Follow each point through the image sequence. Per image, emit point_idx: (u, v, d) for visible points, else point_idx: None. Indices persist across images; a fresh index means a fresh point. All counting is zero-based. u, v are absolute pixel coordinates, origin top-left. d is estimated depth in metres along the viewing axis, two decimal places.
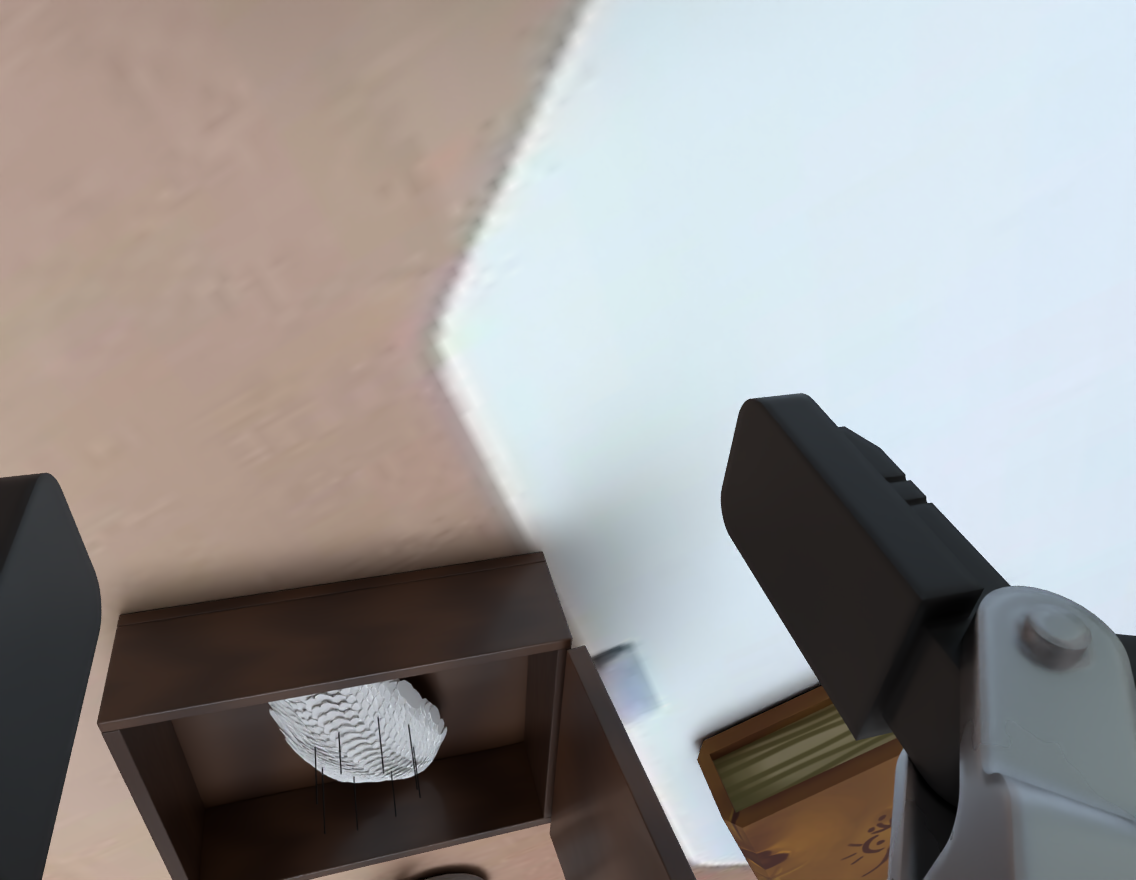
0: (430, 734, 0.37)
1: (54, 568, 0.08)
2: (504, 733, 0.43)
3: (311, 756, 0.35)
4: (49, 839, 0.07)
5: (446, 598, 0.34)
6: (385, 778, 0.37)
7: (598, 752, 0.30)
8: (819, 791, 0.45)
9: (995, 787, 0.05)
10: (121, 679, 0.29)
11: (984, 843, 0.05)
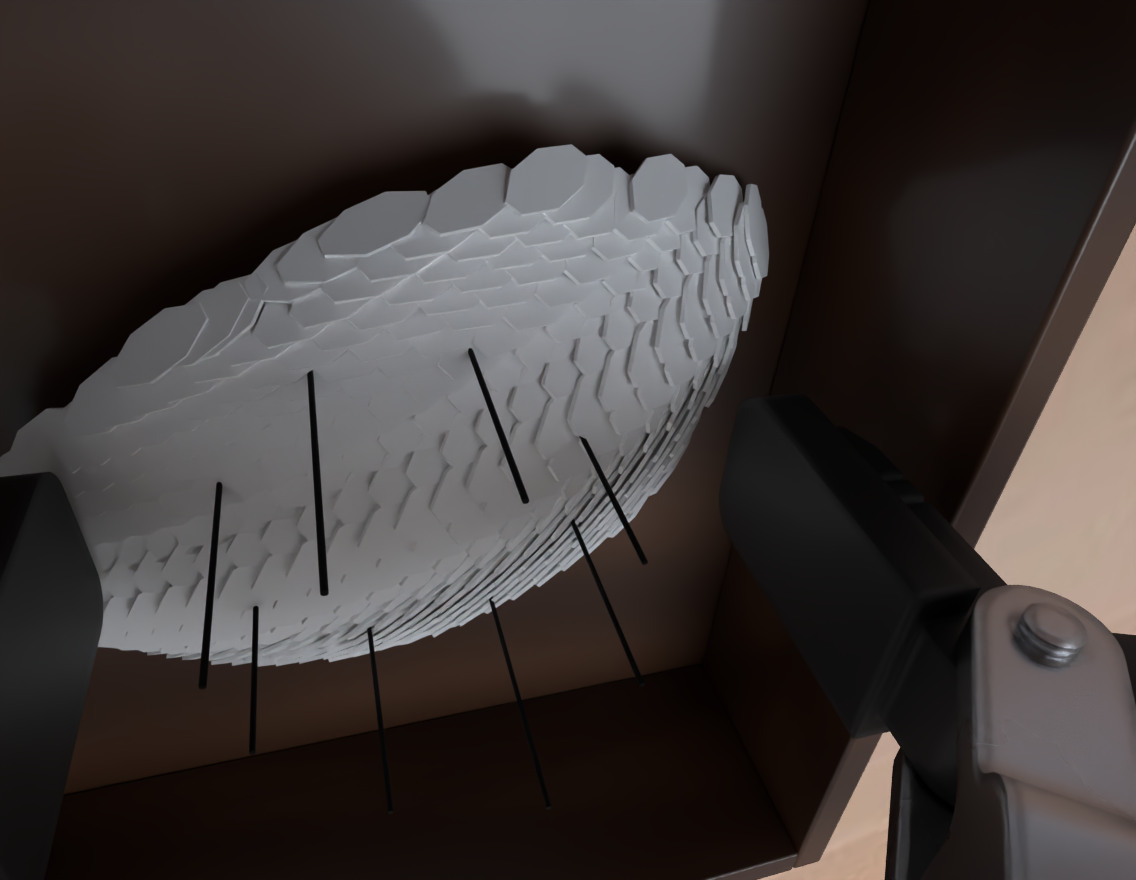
0: (443, 269, 0.08)
1: (55, 567, 0.08)
2: None
3: (420, 629, 0.11)
4: (51, 837, 0.07)
5: None
6: (623, 443, 0.10)
7: None
8: None
9: (993, 787, 0.05)
10: None
11: (982, 843, 0.05)
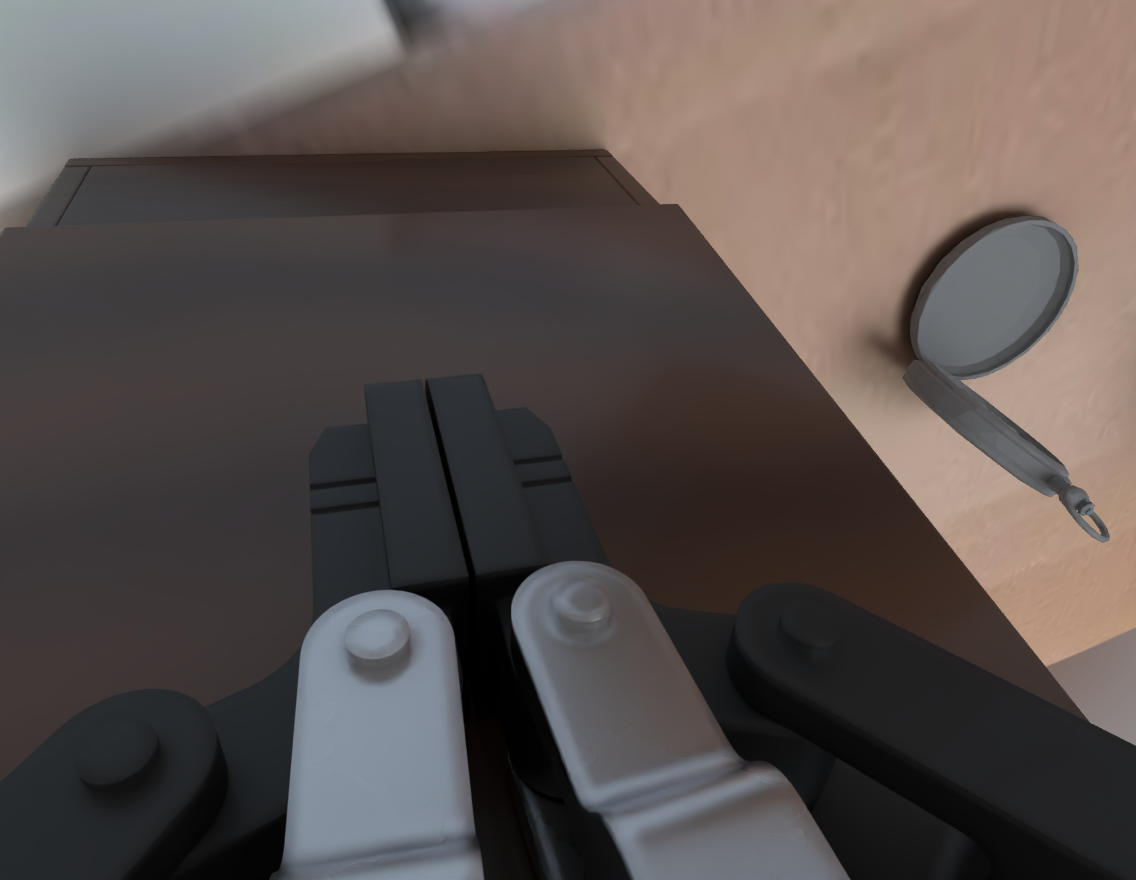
0: None
1: None
2: None
3: None
4: None
5: None
6: None
7: None
8: None
9: (602, 830, 0.05)
10: None
11: None
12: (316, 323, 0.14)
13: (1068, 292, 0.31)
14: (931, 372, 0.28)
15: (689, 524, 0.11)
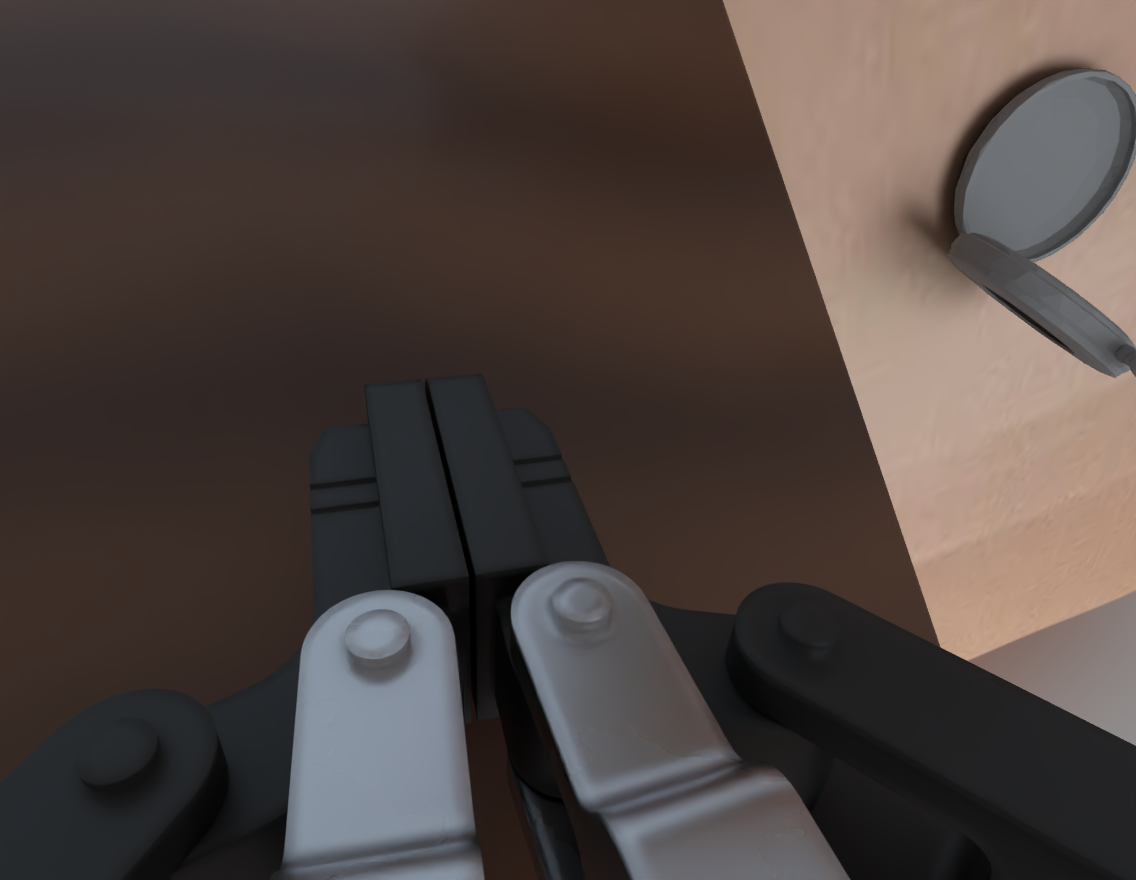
0: None
1: None
2: None
3: None
4: None
5: None
6: None
7: None
8: None
9: (602, 829, 0.05)
10: None
11: None
12: (291, 145, 0.13)
13: (1128, 164, 0.28)
14: (982, 239, 0.25)
15: (657, 448, 0.12)
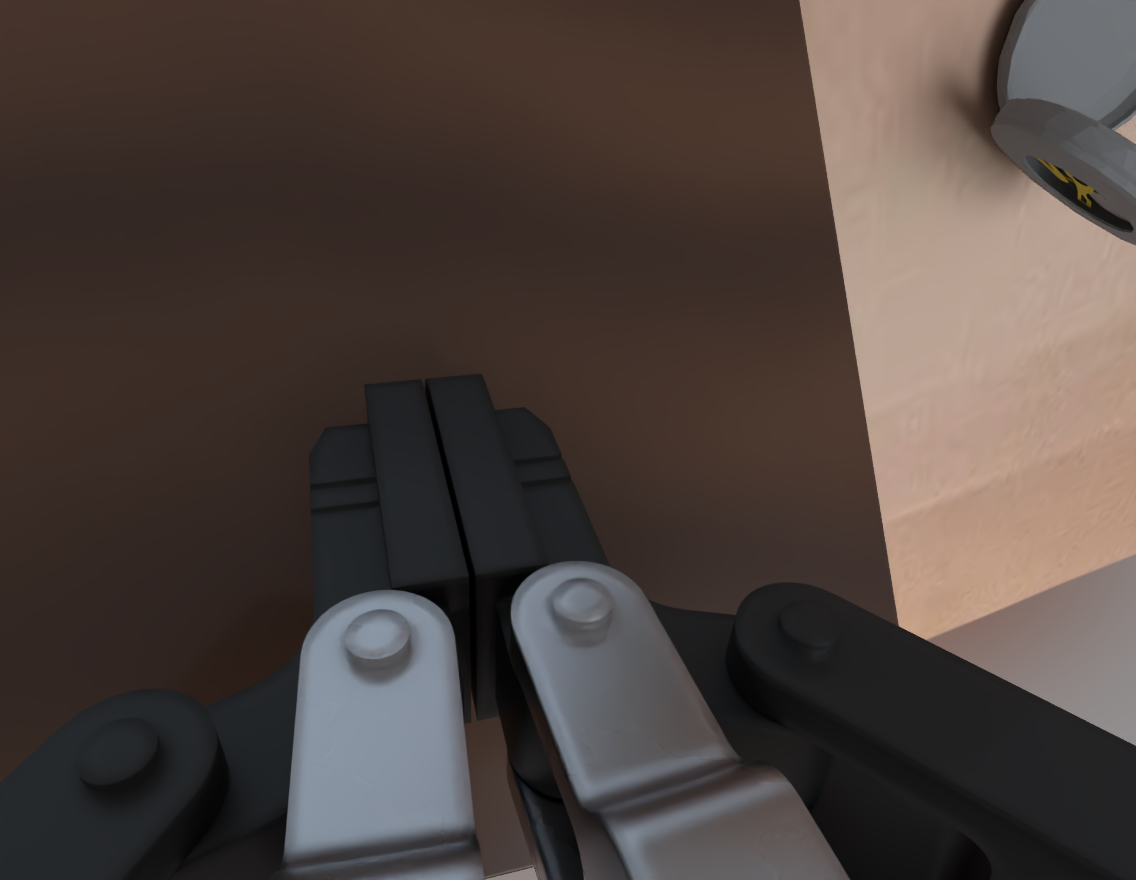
0: None
1: None
2: None
3: None
4: None
5: None
6: None
7: None
8: None
9: (602, 829, 0.05)
10: None
11: None
12: None
13: None
14: (1033, 101, 0.23)
15: (634, 279, 0.12)
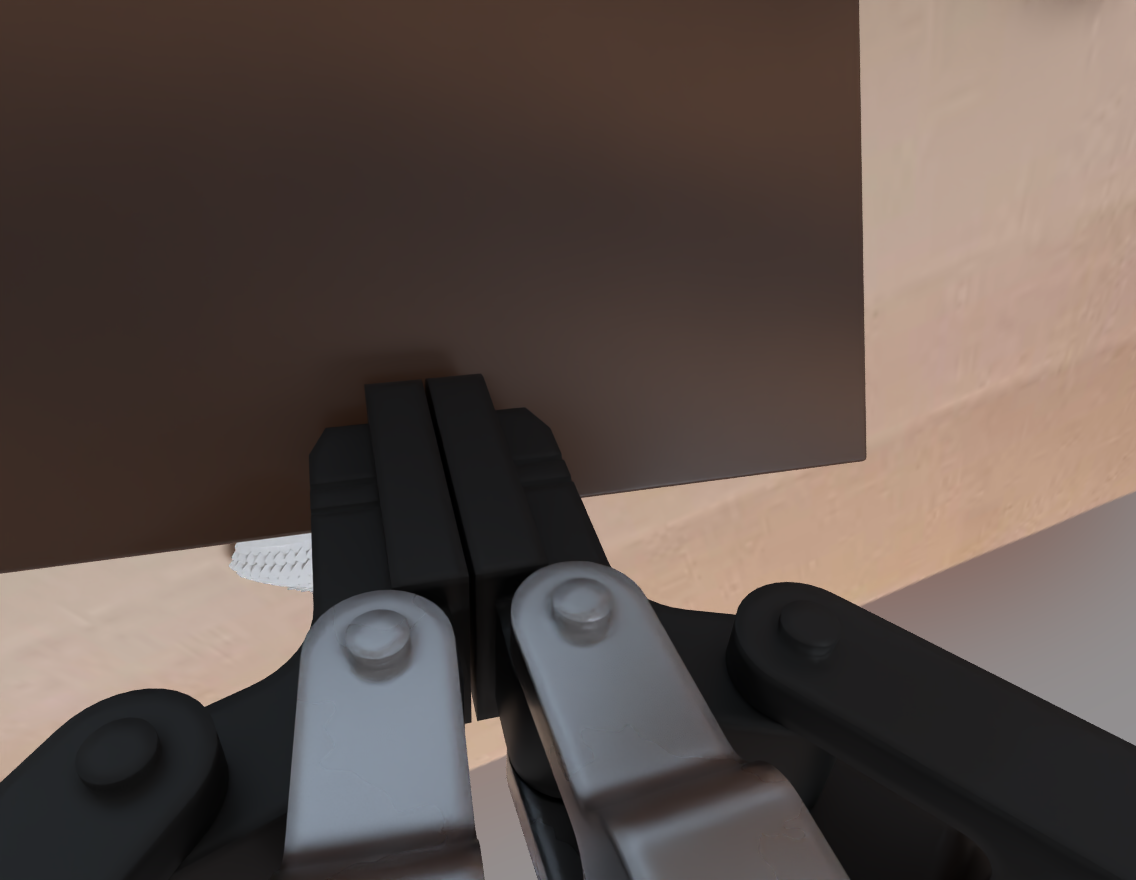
0: None
1: None
2: None
3: None
4: None
5: None
6: None
7: None
8: None
9: (601, 830, 0.05)
10: None
11: None
12: None
13: None
14: None
15: None
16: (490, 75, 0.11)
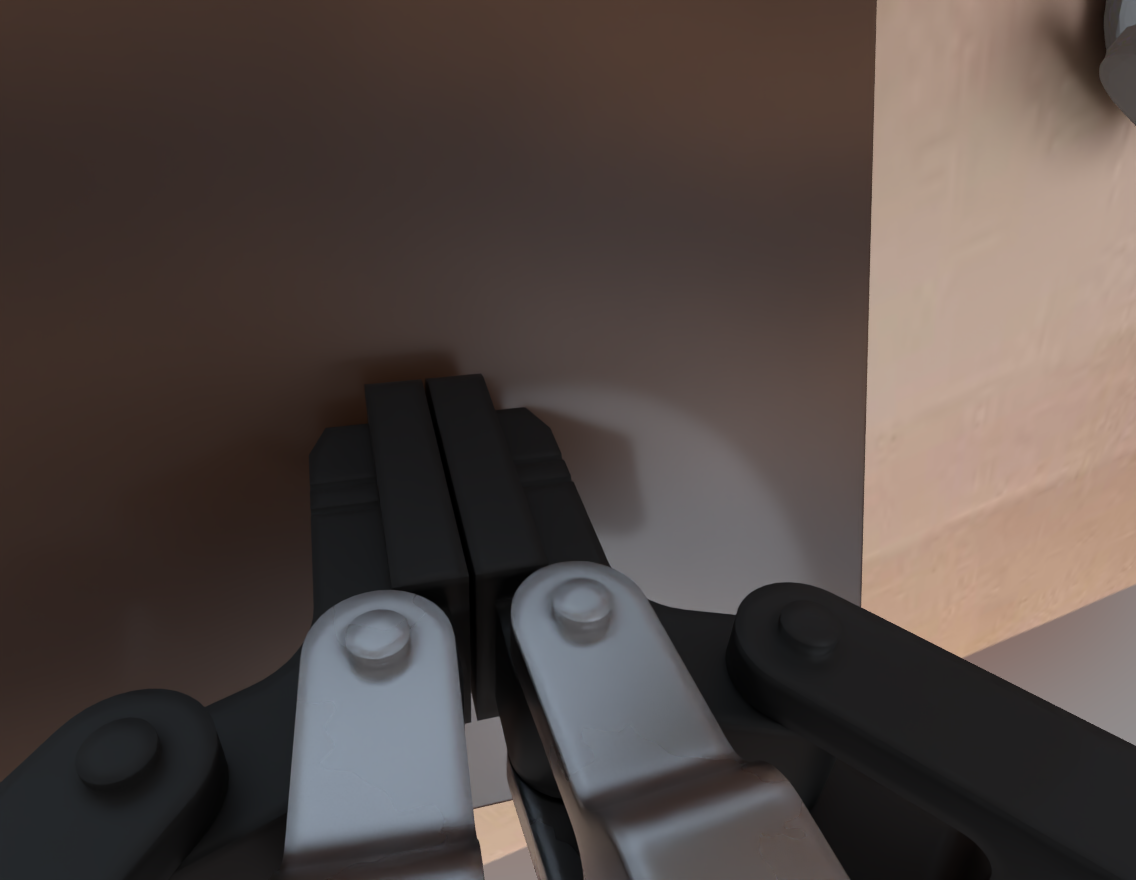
0: None
1: None
2: None
3: None
4: None
5: None
6: None
7: None
8: None
9: (602, 830, 0.05)
10: None
11: None
12: None
13: None
14: None
15: (649, 259, 0.11)
16: None
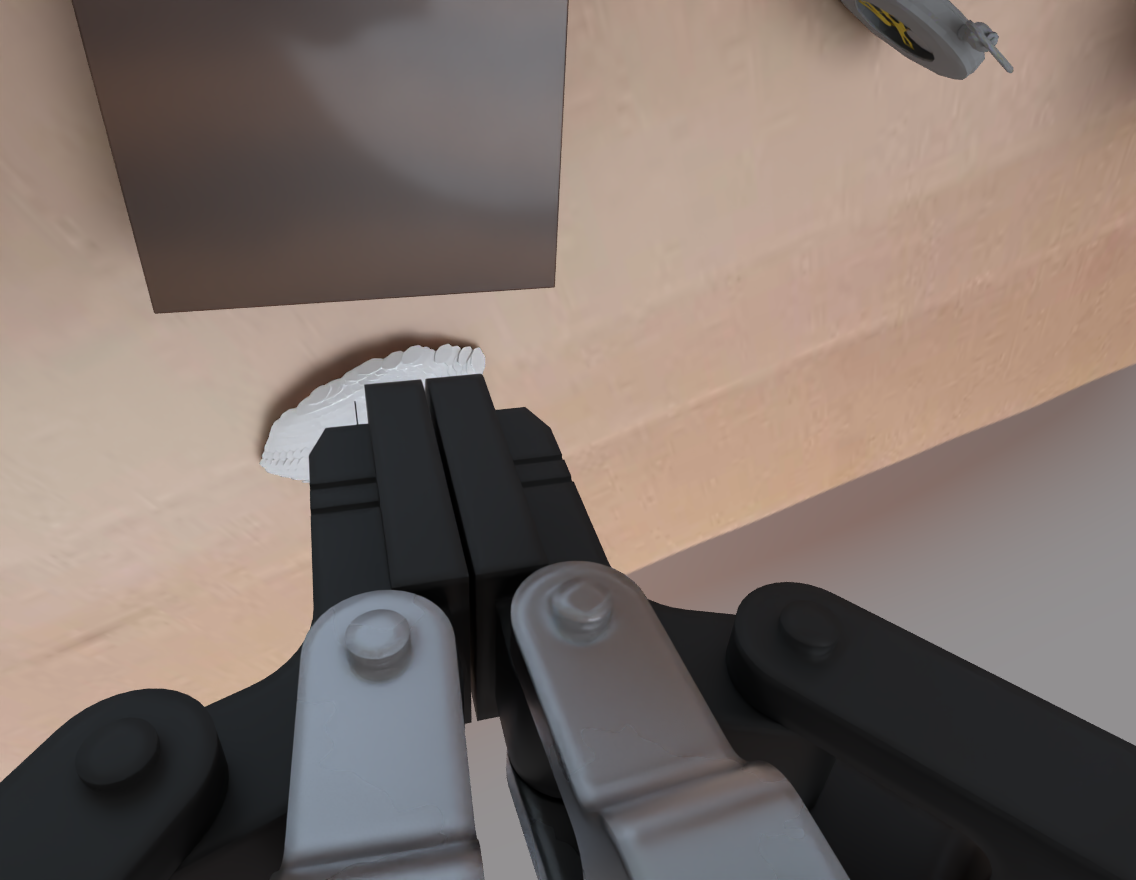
0: (385, 377, 0.36)
1: None
2: None
3: None
4: None
5: None
6: None
7: None
8: None
9: (602, 829, 0.05)
10: None
11: None
12: None
13: None
14: None
15: (456, 59, 0.26)
16: (395, 133, 0.26)
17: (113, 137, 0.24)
